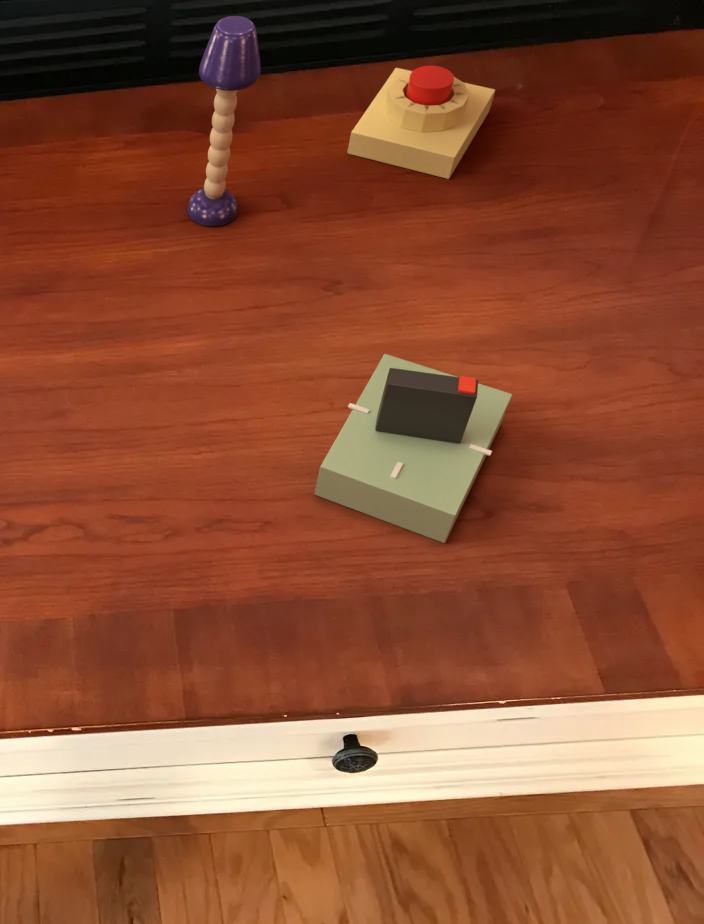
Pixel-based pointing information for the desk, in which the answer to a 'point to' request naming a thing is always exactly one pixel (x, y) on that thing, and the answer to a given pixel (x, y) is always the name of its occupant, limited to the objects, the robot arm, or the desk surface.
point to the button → (430, 85)
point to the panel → (408, 461)
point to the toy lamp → (224, 112)
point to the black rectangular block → (426, 405)
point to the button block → (420, 127)
